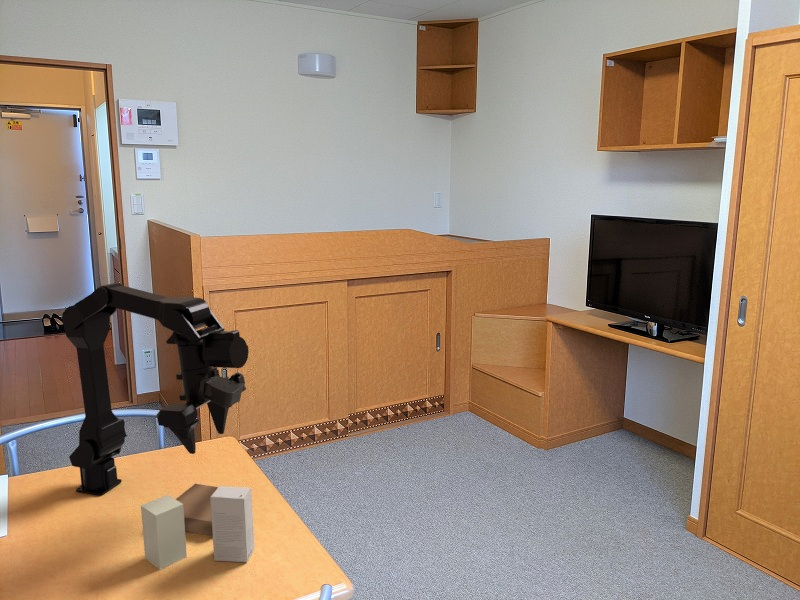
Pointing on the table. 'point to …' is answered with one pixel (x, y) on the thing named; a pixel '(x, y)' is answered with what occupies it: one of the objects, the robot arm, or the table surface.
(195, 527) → the walnut block
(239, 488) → the skincare box
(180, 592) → the table surface
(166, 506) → the pale grey tall block
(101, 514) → the table surface
